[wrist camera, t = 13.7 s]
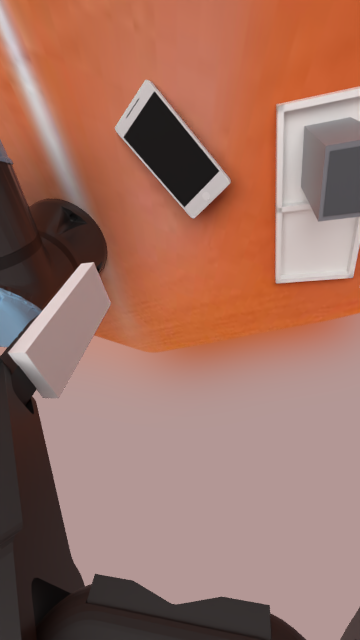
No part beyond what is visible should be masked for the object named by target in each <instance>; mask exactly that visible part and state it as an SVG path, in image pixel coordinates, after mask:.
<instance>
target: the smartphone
mask: <svg viewBox="0 0 360 640" xmlns="http://www.w3.org/2000/svg"><path fill="white" fill-rule="evenodd" d="M115 130H116V132H117V133H118V135H119V136H120V137H121V138H122V139H123V140H124V141H125V143H126V144H127V145H128V146H129V147H130V148H131V149H132V151H133V152H134V153H135V154H136V155H137V156H138V157H139V159H140V160H141V161H142V162H143V163H144V164H145V165H146V167H147V168H148V169H149V170H150V171H151V172H152V174H153V175H154V176H155V177H156V178H157V179H158V180H159V182H160V183H161V184H162V185H163V186H164V187H165V188H166V190H167V191H168V192H169V193H170V194H171V195H172V196H173V198H174V199H175V200H176V201H177V202H178V203H179V205H180V206H181V207H182V208H183V209H184V210H185V211H186V213H187V214H188V215H189V216H190V217H191V218H193V219H194V218H195V217H196V216H197V215H198V214H200V213H201V212H202V211H203V210H204V209H205V208H206V207H207V206H208V205H209V204H210V203H211V202H212V201H213V200H214V199H215V198H216V197H217V196H218V195H219V194H220V193H221V192H222V191H223V190H224V189H225V188H226V187H227V186H228V185H229V184H230V183H231V180H230V178H229V177H228V175H227V174H226V173H225V172H224V170H223V169H222V168H221V167H220V166H219V164H218V163H217V162H216V161H215V159H214V158H213V157H212V156H211V154H210V153H209V152H208V151H207V149H206V148H205V147H204V146H203V144H202V143H201V142H200V141H199V140H198V138H197V137H196V136H195V135H194V133H193V132H192V131H191V130H190V128H189V127H188V126H187V125H186V123H185V122H184V121H183V120H182V119H181V117H180V116H179V115H178V114H177V112H176V111H175V110H174V109H173V107H172V106H171V105H170V104H169V102H168V101H167V100H166V99H165V98H164V96H163V95H162V94H161V93H160V91H159V90H158V89H157V88H156V86H155V85H154V84H153V83H152V82H151V81H149V80H145V81H144V83H143V84H142V86H141V87H140V89H139V91H138V92H137V94H136V95H135V97H134V98H133V100H132V102H131V103H130V105H129V106H128V108H127V109H126V111H125V112H124V114H123V116H122V117H121V119H120V120H119V122H118V123H117V125H116V127H115Z"/></svg>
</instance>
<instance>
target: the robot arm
mask: <svg viewBox="0 0 360 640" xmlns="http://www.w3.org/2000/svg"><path fill="white" fill-rule="evenodd" d="M12 165H13V162H12V160H11V159H10V158H8V155H7V153H6V151H5V149H4V147H3V144H2V142H1V140H0V347H8V348H7V349H6V350H5V351H4V353H3V354H2V355H1V356H0V640H306V639H305V638H304V637H302V635H301V634H299V633H298V632H297V631H296V630H295V629H294V628H292V627H291V626H290V625H288V624H287V623H286V622H284V621H283V620H282V619H280V618H278V617H276V616H274V615H272V614H270V606H269V605H264V604H259V603H254V602H248V601H243V600H237V599H232V598H226V597H218V598H212V599H207V600H201V601H195V602H190V603H184V604H177V605H175V604H171V603H169V602H167V601H166V600H164V599H162V598H161V597H159V596H157V595H156V594H154V593H153V592H151V591H149V590H147V589H146V588H144V587H143V586H141V585H139V584H138V583H136V582H134V581H132V580H126V579H120V578H114V577H109V576H103V575H98V574H95V576H94V579H93V582H92V584H91V585H88V586H85V585H84V582H83V580H82V577H81V575H80V573H79V571H78V569H77V568H76V566H75V564H74V562H73V560H72V557H71V553H70V549H69V545H68V540H67V536H66V532H65V527H64V523H63V518H62V515H61V510H60V505H59V501H58V497H57V492H56V488H55V483H54V479H53V474H52V470H51V466H50V461H49V457H48V453H47V448H46V444H45V439H44V435H43V430H42V426H41V422H40V417H39V413H38V408H37V404H36V401H35V399H34V398H33V397H32V395H33V394H34V392H35V391H36V389H37V391H38V392H39V393H40V394H41V396H42V397H43V398H59V397H60V395H61V393H62V392H63V390H64V388H65V386H66V384H67V383H68V381H69V379H70V377H71V375H72V374H73V372H74V370H75V368H76V366H77V364H78V363H79V361H80V359H81V357H82V356H83V354H84V352H85V350H86V348H87V347H88V345H89V343H90V341H91V339H92V337H93V336H94V334H95V332H96V330H97V328H98V327H99V325H100V323H101V321H102V319H103V318H104V316H105V314H106V312H107V310H108V309H109V307H110V305H111V302H110V300H109V297H108V295H107V292H106V290H105V288H104V285H103V283H102V280H101V278H100V276H99V273H100V271H101V270H102V268H103V267H104V265H105V262H106V259H107V246H106V241H105V238H104V236H103V234H102V232H101V230H100V228H99V227H98V225H97V224H96V222H95V221H94V220H93V219H92V218H91V217H90V216H89V215H88V214H87V213H86V212H85V211H83V210H82V209H80V208H79V207H77V206H75V205H74V204H71V203H69V202H66V201H63V200H59V199H44V200H41V201H38V202H36V203H34V204H33V205H31V206H30V207H28V204H27V202H26V199H25V196H24V194H23V191H22V189H21V186H20V184H19V181H18V179H17V176H16V174H15V171H14V169H13V166H12ZM341 640H360V608H359V609H358V611H357V613H356V614H355V616H354V618H353V619H352V620H351V622H350V623H349V625H348V627H347V629H346V630H345V632H344V634H343V636H342V637H341Z"/></svg>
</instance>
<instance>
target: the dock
mask: <svg viewBox="0 0 360 640" xmlns="http://www.w3.org/2000/svg"><path fill="white" fill-rule="evenodd" d="M359 245H360V86H359V87H355V88H350V89H345V90H341V91H336V92H331V93H327V94H322V95H318V96H313V97H308V98H304V99H299V100H294V101H290V102H285V103H280V104H276V208H275V281H276V283H289V282H303V281H316V280H330V279H344V278H353V275H354V270H355V265H356V260H357V255H358V250H359Z"/></svg>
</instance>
